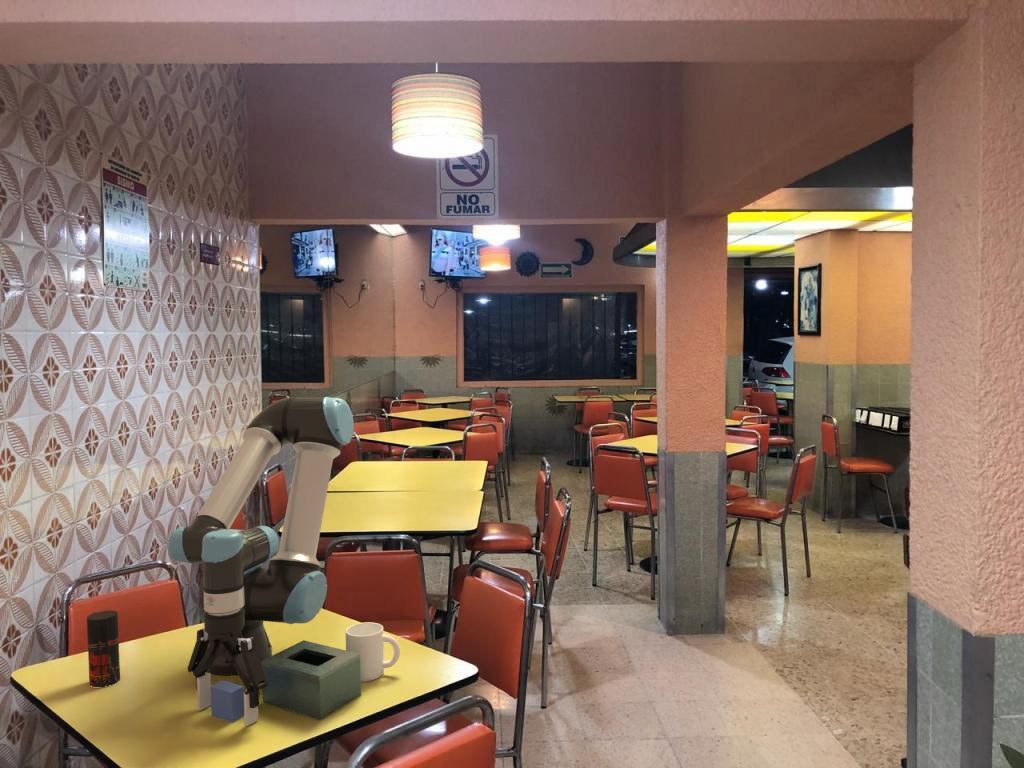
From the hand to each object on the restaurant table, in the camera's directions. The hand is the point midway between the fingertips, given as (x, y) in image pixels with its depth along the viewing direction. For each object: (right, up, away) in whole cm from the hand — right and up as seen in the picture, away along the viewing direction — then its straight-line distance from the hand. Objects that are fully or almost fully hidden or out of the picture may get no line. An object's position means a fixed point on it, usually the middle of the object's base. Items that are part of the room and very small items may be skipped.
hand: (227, 715), depth 146 cm
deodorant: (-33, 0, +16) cm, 37 cm away
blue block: (0, 0, 0) cm, 0 cm away
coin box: (+15, 0, +7) cm, 16 cm away
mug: (+26, +1, +18) cm, 31 cm away
